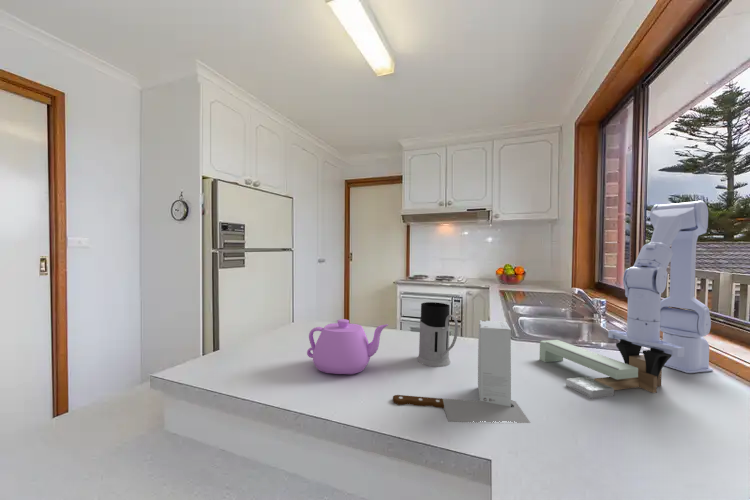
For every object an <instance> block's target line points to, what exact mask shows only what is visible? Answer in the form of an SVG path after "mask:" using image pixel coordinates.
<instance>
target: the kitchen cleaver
mask: <svg viewBox="0 0 750 500" xmlns="http://www.w3.org/2000/svg"><path fill="white" fill-rule="evenodd" d="M392 403H393V404H395V405H397V406H398V405H399V406H404V405H412V406H418V407H435V408H437V409H443V410H444V413H445V416H446V419H447V421H448V422H449V423H467V424H469V423H470V422H471V424H473V423H474V422H475V423H474V424H479V423H478V422H480V421H481V422H482V421H483V422H484V421H486V422H491V423H490V424H495V423H494V422H495V421H496V422H499V421H500V422H502V421H507V422H508V421H509V422H510V421H511V422H513V423H512V424H515V423H514V421H515V422H517V423H516V424H530V423H531V420H529V418H528V417H527V416H526V413H525V412H524V411H523V410H522V408H521V407H520V405H519V404H518V403H517V401H516V400H513V399H511V406H512V407H508V406H504V405H499V404H494V403H489V402H484V401H480V400H477V399H476V400H473V399H472V400H469V399H466V400H465V399H453V398H441V397H440V398H439V397H438V398H437V397H426V396H418V395H417V396H416V395H404V394H394V395H392ZM473 421H474V422H473ZM493 421H494V422H493ZM468 422H469V423H468ZM472 422H473V423H472ZM476 422H477V423H476ZM492 422H493V423H492ZM500 422H499V423H498V424H501V423H500Z"/></svg>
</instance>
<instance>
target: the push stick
mask: <svg viewBox="0 0 750 500" xmlns="http://www.w3.org/2000/svg"><path fill="white" fill-rule="evenodd" d="M629 365H631V366H634V367H637V368H638V377H636V378H626V379H614V378H612V377H609V376H603V377H596V378H593V379H594V380H596V381H599V382H601V383H603V384H606V385H608V386H610V387H612V388H614V391H618V390H627V389H636V388H640V389H642V390H643V391H644V390H645V391H647V392H650V393H652V394H655V393H656V394H657V392H658V391H657V389H658V388H657V387H662V372H663V371H662V369H663V368H662V369H661V371H660V374H659V376H658V379H657V376H654V375H652V374H649V373H646V362H645V357H644V354H639V355H634V356H629Z"/></svg>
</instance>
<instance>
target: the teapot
mask: <svg viewBox="0 0 750 500" xmlns="http://www.w3.org/2000/svg"><path fill="white" fill-rule="evenodd" d="M336 321H337V322H335V323H333V322H332V323H328V324H327V325H325V326H324V327H322V326H316V327H314V328H312V329H311V330H310V331H309V333H308V340H309V341H308V342H309V343H310V347H309V348H308V349H307V351H306V355H307V357H309V358H310V359H312V363H313V365H314V366H315V367H316V369H317V370H318V371H320V372H323V373H325V374H336V375H351V376H353V375H355V374H358V373H361V372H362V371H364V370H365V369H366V367H367V366H368V364H369V362H370V359H371V357H372V356H374V355H375V354H376V353H377V352H378V350H379V345H380V339H381V335H382V334H381V333H382V331H383V330H384V329H385V328H386V327H388V326H389V324H387V323H386V324H381V325H378V326H376V328H375V329H374V333H373V338H372V341H371V342H370V343H369V339H368V337H367V335H366V334H367V333H366V332H365V330H364V328H363V326H362V325H361V324H356V323H350V320H349V319H346V318H343V319H341V318H340V319H338V320H336ZM315 332H320V334H319V336H318V338H317V340H316V342H315V339H314V333H315ZM311 351H312V352H311Z"/></svg>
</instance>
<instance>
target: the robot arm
mask: <svg viewBox="0 0 750 500" xmlns="http://www.w3.org/2000/svg"><path fill="white" fill-rule="evenodd" d="M649 214H650V215H649V220H650V223H651V225H652V227H653V232H652V236H651V239H650V242H648V243H645V244H644V245H642V247H641V249H640V251H639V253H638V256H637V258H636V259H635V261H634V264H633V266H630V267H629V268H626V269H625V270H624V273H623V278H622V284H623V288H624V291H625V292H624V295H625V297H626V298H627V313H626V315H627V317H626V331H623V330H617V329H608V334H607V335H608V336H607V338H608V339H611V340H619V342H616V343H615V346H616V348H617V349H618V351H619V353H620V355H621V357H622V360H623V363H625V364H628V365H629V356H634V355H641V354H640V353H641V351H642V355H644V357H645V362H646V373H649V374H652V375H654V376H657V379H658V376H659V374H660V371H661V369H663V367H667V368H671V369H674V370H677V371H679V372H683V373H686V374H694V373H695V374H696V373H705V372H712V371H714V369H713V368H711V367H710V365H709V364H710V363H709V362H710V344H709V342H708V340H707V339H706V338H705V337H706V336H708V335H709V334H710V332H711V327H712V319H711V315H710V314H711V313H710V312H711V311H710V309H709V307H708V306H707V305H706V304H705V303H703V302H701V301H700V300H698V299H697V298H696V297H695V291H696V290H695V288H696V266H697V265H696V263H697V260H696V258H697V243H698V239H699V236H701V235H704V234H706V233H707V232H708V231H707V230H708V227H709V209H708V205H707V203H706V202H705V201H703V200H696V201H688V202H687V201H686V202H679V203H678V202H676V203H666V204H654V205H653V207H652V208H651V209H650V213H649ZM669 264H670V274H669V275H670V276H669V296H668V297H665V298H663V299H662V294H663V293H664V291H665V289H666V288H667V279H668V271H667V269H668V266H669ZM661 332H662V340H661V339H660V338H661ZM642 347H643V348H647V349H645V350H643V349H642Z"/></svg>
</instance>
